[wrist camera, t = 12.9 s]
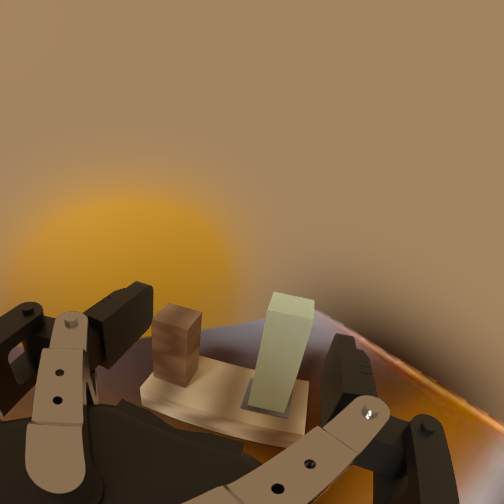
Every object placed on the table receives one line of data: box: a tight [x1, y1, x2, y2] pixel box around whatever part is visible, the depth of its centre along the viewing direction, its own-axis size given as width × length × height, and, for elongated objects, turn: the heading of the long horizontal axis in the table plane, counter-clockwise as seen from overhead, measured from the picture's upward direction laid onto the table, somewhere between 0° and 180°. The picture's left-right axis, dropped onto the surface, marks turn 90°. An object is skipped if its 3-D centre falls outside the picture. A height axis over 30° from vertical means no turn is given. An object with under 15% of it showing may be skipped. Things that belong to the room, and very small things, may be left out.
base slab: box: [140, 303, 309, 448], centre depth 29 cm, size 18×9×11 cm, turn 78°
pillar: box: [248, 292, 314, 413], centre depth 27 cm, size 4×4×12 cm
